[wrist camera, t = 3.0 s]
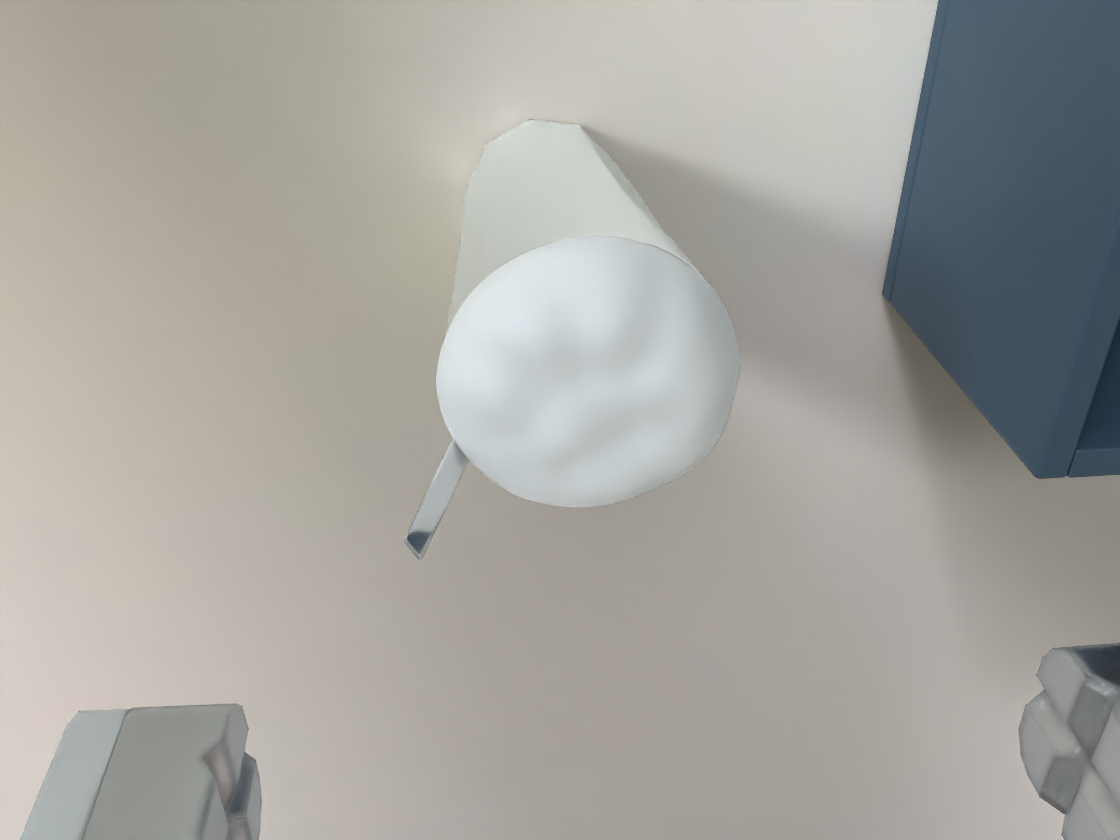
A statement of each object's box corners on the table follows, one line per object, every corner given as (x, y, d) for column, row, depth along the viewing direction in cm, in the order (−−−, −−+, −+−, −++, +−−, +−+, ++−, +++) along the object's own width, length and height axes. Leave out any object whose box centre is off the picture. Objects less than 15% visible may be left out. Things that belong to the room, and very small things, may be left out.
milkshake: (362, 170, 21) (316, 434, 13) (590, 44, 21) (697, 239, 12) (470, 337, 24) (490, 649, 16) (679, 230, 23) (820, 501, 15)
